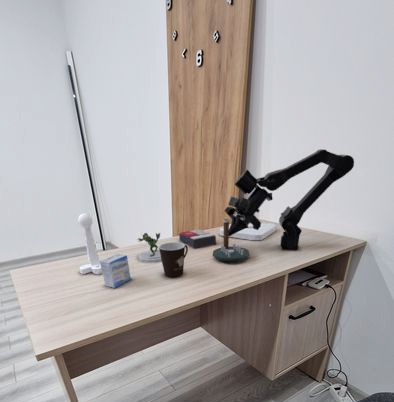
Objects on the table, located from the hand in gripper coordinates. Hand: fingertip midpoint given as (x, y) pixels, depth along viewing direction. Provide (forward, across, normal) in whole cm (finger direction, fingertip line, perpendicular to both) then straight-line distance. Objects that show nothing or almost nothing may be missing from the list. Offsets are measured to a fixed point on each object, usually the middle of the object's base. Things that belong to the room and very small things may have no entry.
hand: (228, 235), depth 117 cm
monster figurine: (+25, -11, -14) cm, 31 cm away
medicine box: (+38, +8, -28) cm, 47 cm away
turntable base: (+6, +6, +4) cm, 9 cm away
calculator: (+9, -20, +2) cm, 22 cm away
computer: (-11, -21, +22) cm, 33 cm away
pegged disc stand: (+5, +6, +3) cm, 8 cm away
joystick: (+41, -7, -31) cm, 52 cm away
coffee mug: (+23, +10, -13) cm, 29 cm away
